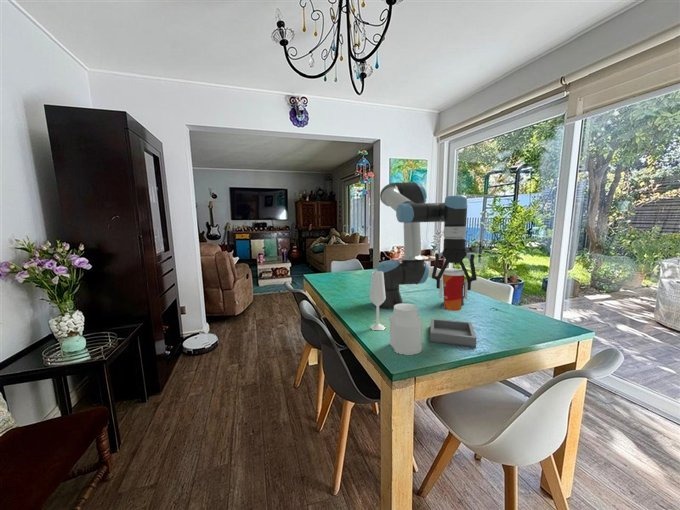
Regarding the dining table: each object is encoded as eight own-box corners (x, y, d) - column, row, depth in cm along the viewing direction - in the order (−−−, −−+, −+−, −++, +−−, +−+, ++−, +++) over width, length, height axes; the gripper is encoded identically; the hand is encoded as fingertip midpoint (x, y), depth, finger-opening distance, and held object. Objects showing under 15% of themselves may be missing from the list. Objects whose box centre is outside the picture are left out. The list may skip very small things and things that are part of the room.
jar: (425, 354, 93) (425, 311, 91) (397, 356, 92) (398, 313, 90) (411, 339, 104) (412, 301, 102) (387, 341, 103) (387, 302, 101)
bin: (430, 341, 102) (430, 332, 102) (430, 326, 116) (431, 318, 116) (476, 347, 97) (476, 337, 96) (470, 330, 111) (471, 322, 111)
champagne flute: (366, 328, 116) (366, 272, 112) (374, 323, 121) (374, 270, 118) (380, 332, 111) (380, 274, 108) (388, 326, 117) (388, 271, 114)
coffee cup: (446, 303, 111) (447, 267, 109) (467, 307, 105) (469, 269, 103) (437, 308, 105) (437, 270, 103) (458, 313, 99) (460, 272, 97)
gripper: (424, 238, 102) (423, 298, 104) (488, 238, 95) (485, 302, 98) (425, 237, 109) (424, 293, 111) (484, 237, 102) (482, 296, 105)
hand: (452, 297), depth 105 cm, fingers closed on coffee cup, 8 cm apart
